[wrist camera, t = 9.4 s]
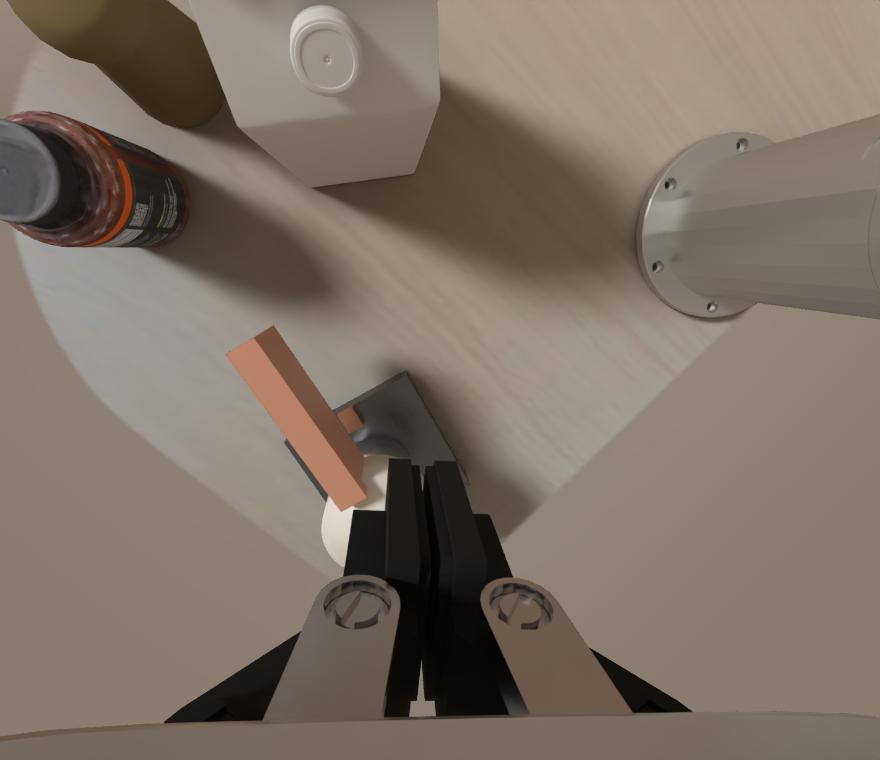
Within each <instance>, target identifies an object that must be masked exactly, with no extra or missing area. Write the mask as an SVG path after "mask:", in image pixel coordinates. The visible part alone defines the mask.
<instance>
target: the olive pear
mask: <svg viewBox="0 0 880 760" xmlns="http://www.w3.org/2000/svg"><path fill="white" fill-rule="evenodd" d="M7 1H8V2H9V4H10V6H11V7H12V9H13V11H14V12H15V14H16V15H17V16H18V17H19V18H20V19H21V20H22V21H23V22H24V23H25V24H26V26H27V27H28V28H29V29H30V30H31V31H32V32H33V33H34V34H35V35H36V36H37V37H38V38H39V39H40V40H42V41H43V42H45V43H47V44H48V45H50V46H52V47H53V48H55V49H57V50H58V51H60V52H62V53H63V54H65V55H67V56H68V57H70V58H74V59H77V60H81V61H85V62H89V63H93V64H95V65H96V66H97V67H98V68H99V69H100V70H101V71H102V72H103V73H104V74H105V75H106V76H108V77H109V78H110V79H111V80H112V81H113V82H114V83H115V84H116V85H117V86H118V87H119V88H120V89H121V90H122V91H123V92H125V93H126V94H127V95H128V96H129V97H130V98H131V99H132V100H133V101H134V102H135V103H136V104H137V105H138V106H139V107H140V108H142V109H143V110H144V111H145V112H146V113H147V114H148V115H150V116H151V117H153V118H155V119H156V120H158V121H160V122H161V123H163V124H167V125H171V126H175V127H178V128H182V127H195V126H198V125H200V124H202V123H204V122H207V121H209V120H210V119H211V118H212V117H213V116H214V115H215V114H216V113H217V112H218V111H219V110H220V108H221V106H222V103H223V101H224V99H225V97H226V96H225V94H224V91H223V89H222V86H221V84H220V81H219V79H218V76H217V74H216V71H215V68H214V66H213V63H212V61H211V58H210V56H209V53H208V51H207V48H206V46H205V43H204V40H203V38H202V35H201V33H200V30H199V28H198V25H197V23H195V22H194V21H193V20H192V19H190V18H189V17H188V16H187V15H185V14H184V13H183V12H181V11H180V10H179V9H178V8H176V7H175V6H174V5H173V4H171V3H170V2H169V1H167V0H7Z"/></svg>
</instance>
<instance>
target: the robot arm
mask: <svg viewBox="0 0 880 760" xmlns="http://www.w3.org/2000/svg"><path fill="white" fill-rule="evenodd" d="M665 184H666V188H665ZM636 248H637V255H638V262H639V265H640V268H641V271H642V274H643V276H644V278H645V280H646V282H647V283H648V285H649V287H650V289H651V290H652V291H653V292H654V293H655V294H656V295H657V297H658V298H659V299H660V300H661V301H663V302H664V303H666V304H667V305H668V306H670V307H671V308H673V309H675V310H678V311H680V312H683V313H685V314H690V315H694V316H698V317H708V318H714V317H722V316H729V315H732V314H735V313H738V312H741V311H744V310H745V309H747V308H749V307H751V306H753V305H755V304H757V303H763V304H771V305H778V306H785V307H793V308H801V309H808V310H816V311H823V312H830V313H838V314H846V315H853V316H861V317H868V318H875V319H880V114H878V115H875V116H871V117H868V118H864V119H861V120H857V121H854V122H850V123H846V124H843V125H839V126H836V127H832V128H829V129H825V130H822V131H818V132H815V133H811V134H807V135H804V136H800V137H797V138H793V139H790V140H786V141H783V142H779V143H775V142H773V141H771V140H769V139H767V138H765V137H763V136H759V135H755V134H751V133H741V132H731V133H726V134H721V135H716V136H713V137H710V138H708V139H705V140H702V141H699V142H697V143H696V144H694V145H692V146H690V147H688V148H687V149H685V150H683V151H682V152H681V153H680V154H678V155H677V156H676V157H675V158H673V159H672V160H671V161H670V162H669V163H668V164H667V165H666V166H665V168H664V169H663V170H662V171H661V172H660V173H659V175H658V176H657V177H656V179H655V181H654V182H653V184H652V186H651V187H650V189H649V190H648V192H647V195H646V197H645V200H644V202H643V205H642V207H641V210H640V215H639V219H638V224H637V234H636ZM653 264H654V268H653V269H652V266H653ZM421 659H422V671H423V685H424V697H425V701H435V710H436V716H430V717H409V712H410V703H411V701H416V700H417V695H418V686H419V677H420V668H421ZM0 760H880V717H876V716H866V715H858V714H850V713H814V712H813V713H812V712H777V711H772V712H771V711H770V712H692V711H691V710H690V709H688V708H687V707H685V706H684V705H683V704H681V703H680V702H679V701H677V700H676V699H674V698H672V697H671V696H669V695H667V694H666V693H664V692H662V691H660V690H659V689H657V688H656V687H654V686H652V685H651V684H649V683H647V682H646V681H644V680H642V679H641V678H639V677H637V676H636V675H634V674H632V673H631V672H629V671H627V670H626V669H624V668H622V667H621V666H619V665H617V664H616V663H614V662H612V661H611V660H609V659H608V658H606V657H604V656H602V655H601V654H599V653H598V652H596V651H594V650H593V649H591V648H589V647H588V646H587V644H586V643H585V641H584V640H583V638H582V637H581V635H580V634H579V632H578V631H577V630H576V628H575V626H574V625H573V623H572V622H571V620H570V619H569V617H568V616H567V614H566V613H565V611H564V610H563V608H562V607H561V605H560V604H559V603H558V601H557V600H556V599H555V598H554V596H553V595H552V594H551V593H550V592H549V591H547V590H546V589H544V588H543V587H541V586H540V585H538V584H535V583H533V582H531V581H529V580H524V579H520V578H513V576H512V573H511V570H510V568H509V565H508V562H507V560H506V557H505V554H504V552H503V549H502V546H501V544H500V541H499V538H498V536H497V533H496V530H495V528H494V525H493V522H492V519H491V517H490V515H488V514H473V513H472V509H471V506H470V503H469V500H468V497H467V493H466V490H465V487H464V484H463V480H462V477H461V474H460V471H459V468H458V464H457V462H456V461H438V460H434V463H433V466H426V467H425V473H424V483H423V490H422V482H421V475H420V467H419V465H412V464H411V459H397V458H389V463H388V475H387V488H386V501H385V511H380V510H353V514H352V521H351V528H350V534H349V541H348V548H347V555H346V561H345V568H344V575H343V577H341V578H339V579H337V580H334V581H332V582H330V583H329V584H328V585H326V586H325V587H324V588H323V589H321V591H320V592H319V594H318V595H317V597H316V598H315V601H314V603H313V605H312V608H311V610H310V612H309V615H308V617H307V619H306V622H305V624H304V626H303V628H302V631H301V632H299V633H298V634H296V635H294V636H293V637H291V638H290V639H288V640H287V641H285V642H283V643H282V644H280V645H279V646H278V647H276V648H274V649H273V650H271V651H270V652H268V653H266V654H265V655H263V656H262V657H260V658H259V659H257V660H255V661H254V662H252V663H251V664H249V665H248V666H246V667H245V668H243V669H241V670H240V671H238V672H237V673H235V674H234V675H232V676H231V677H229V678H227V679H226V680H224V681H223V682H221V683H220V684H218V685H217V686H215V687H214V688H212V689H211V690H209V691H207V692H206V693H204V694H203V695H201V696H200V697H198V698H197V699H195V700H193V701H192V702H190V703H189V704H187V705H186V706H184V707H182V708H181V709H180V710H178V711H177V712H176V713H175V714H174V715H172V716H171V717H170V718H168V719H167V720H166V721H165V722H164V723H155V724H135V725H119V726H103V727H87V728H72V729H56V730H45V731H37V732H29V733H22V734H15V735H8V736H0Z"/></svg>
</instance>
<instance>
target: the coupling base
mask: <svg viewBox="0 0 880 760" xmlns="http://www.w3.org/2000/svg"><path fill="white" fill-rule="evenodd" d="M333 413H334V414H335V415H336V417H337V418H338V420H339V421H340V423H341V424H342V426H343V427H344V429H345V430H346V431H347V433H348V434H349V436H350V437H351V439H352V440H353V442H354V443H355V445H356V446H357V447H358V449H359V450H360V452H361V453H362V455H363V456H364V457H367V456H372V455H388V456H394V457H397V458H400V459H411V464H412V465H419V467H420V473H421V474H422V476H423V477H424V473H425V467H426V466H433V463H434V460H438V461H456V462H457V464H458V468H459V471H460V474H461V477H462V480H463V484H464V487H466V486H468V485H470V484H469V481H468V478H467V475H466V474H465V472H464V470H463V469H462V467H461V465H460V463H459V462H458V460H457V458H456V456H455V455H454V453H453V451H452V450H451V448H450V446H449V444H448V443H447V441H446V439H445V437H444V436H443V434H442V432H441V431H440V429H439V427H438V425H437V424H436V422H435V420H434V418H433V417H432V415H431V413H430V412H429V410H428V408H427V406H426V405H425V403H424V401H423V400H422V398H421V396H420V394H419V393H418V391H417V389H416V387H415V386H414V384H413V382H412V381H411V379H410V377H409V375H408V374H407V372H406V370H405V371H404V372H402V373H400V374H398V375H396V376H395V377H393V378H391V379H389V380H387V381H385V382H384V383H382V384H380V385H378V386H376V387H375V388H373V389H371V390H369V391H367V392H365V393H364V394H362V395H360V396H358V397H356V398H355V399H353V400H351V401H349V402H347V403H345V404H344V405H342V406H340V407H338V408H336V409H335V410H333ZM284 443H285V444H286V446H287V447H288V449H289V450H290V452H291V453H292V454H293V456H294V457H295V459H296V460H297V462H298V463H299V464H300V466H301V467H302V469H303V470H304V471H305V473H306V474H307V476H308V477H309V479H310V480H311V481H312V483H313V484H314V486H315V487H316V488H317V490H318V491H319V493H320V494H321V496H322V497H323V498H324V500H325V501H326V502H327V498H328V494H327V492H326V491H325V490H324V488H323V487H322V486H321V484H320V483H319V482H318V480H317V479H316V477H315V476H314V475H313V473H312V472H311V471H310V469H309V468H308V467H307V465H306V464H305V463H304V461H303V460H302V458H301V457H300V456H299V454H298V453H297V452H296V450H295V449H294V448H293V446H292V445H291V444H290V442H289V441H288V439H287V438H286V440H285V442H284Z"/></svg>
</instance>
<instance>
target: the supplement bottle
mask: <svg viewBox="0 0 880 760" xmlns="http://www.w3.org/2000/svg"><path fill="white" fill-rule="evenodd" d="M188 214H189V197H188V193H187V189H186V187H185V184H184V182H183V180H182V179H181V177H180V175H179V174H178V173H177V171H176V170H175V169H174V167H173V166H172V165H171V164H170V163H169V162H167V161H166V160H165V159H163V158H162V157H160V156H159V155H157V154H155V153H153V152H151V151H150V150H148V149H145V148H143V147H140V146H138V145H135V144H134V143H131V142H128V141H126V140H124V139H121V138H118V137H116V136H114V135H111V134H109V133H106V132H104V131H101V130H99V129H96V128H94V127H92V126H89V125H87V124H85V123H82V122H79V121H77V120H74V119H71V118H69V117H66V116H63V115H59V114H55V113H52V112H45V111H27V112H20V113H16V114H13V115H10V116H7V117H6V118H4V119H0V220H2V221H6V222H8V223H9V224H10V225H12V226H13V227H14V228H15V229H17V230H18V231H20V232H22V233H23V234H24V235H27V236H29V237H30V238H32V239H35V240H38V241H40V242H43V243H47V244H50V245H56V246H61V247H139V248H145V247H154V246H159V245H163V244H165V243H167V242H169V241H171V240H172V239H174V238H175V237H176V236H178V235H179V233H180V232H181V230H182V229H183V228H184V226H185V224H186V222H187V219H188Z"/></svg>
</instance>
